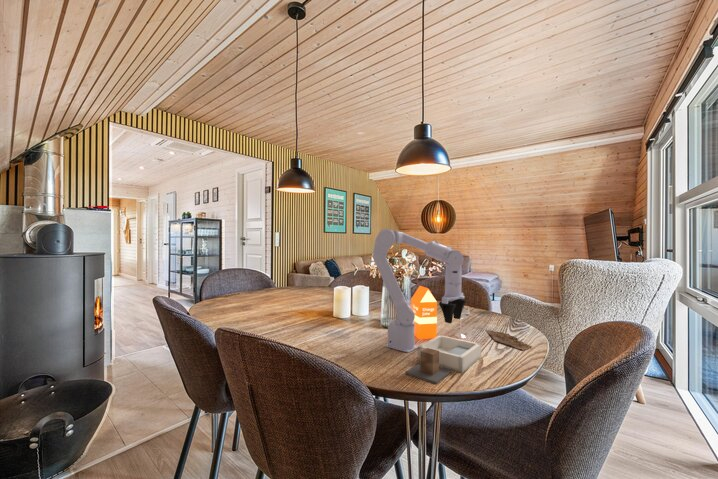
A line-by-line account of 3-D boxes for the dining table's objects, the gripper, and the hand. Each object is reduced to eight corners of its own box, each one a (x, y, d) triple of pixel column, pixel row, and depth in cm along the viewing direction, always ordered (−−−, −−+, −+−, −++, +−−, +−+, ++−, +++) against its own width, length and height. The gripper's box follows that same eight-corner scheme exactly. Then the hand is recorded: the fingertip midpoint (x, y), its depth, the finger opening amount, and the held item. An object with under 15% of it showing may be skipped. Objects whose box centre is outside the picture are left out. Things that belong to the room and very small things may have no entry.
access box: (417, 360, 104) (417, 346, 104) (439, 347, 117) (440, 334, 117) (462, 372, 95) (462, 357, 95) (481, 357, 107) (481, 343, 107)
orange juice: (419, 339, 126) (419, 288, 126) (410, 332, 134) (410, 285, 134) (437, 338, 127) (437, 288, 127) (427, 331, 136) (427, 285, 136)
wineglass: (449, 335, 131) (449, 306, 131) (457, 332, 136) (458, 304, 136) (465, 339, 126) (465, 309, 126) (472, 335, 131) (473, 306, 131)
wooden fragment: (538, 351, 114) (538, 348, 114) (509, 352, 113) (509, 349, 113) (501, 330, 140) (501, 328, 140) (477, 331, 139) (477, 328, 139)
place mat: (405, 373, 93) (405, 371, 93) (421, 363, 101) (421, 361, 101) (436, 384, 87) (436, 381, 87) (451, 372, 95) (451, 370, 95)
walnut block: (420, 371, 94) (420, 351, 94) (426, 367, 97) (426, 347, 97) (432, 375, 91) (433, 354, 91) (438, 371, 94) (439, 350, 94)
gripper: (455, 286, 106) (455, 326, 106) (471, 282, 117) (471, 318, 117) (436, 284, 111) (435, 323, 111) (453, 280, 122) (452, 315, 122)
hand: (452, 320), depth 114 cm, fingers open, 7 cm apart
